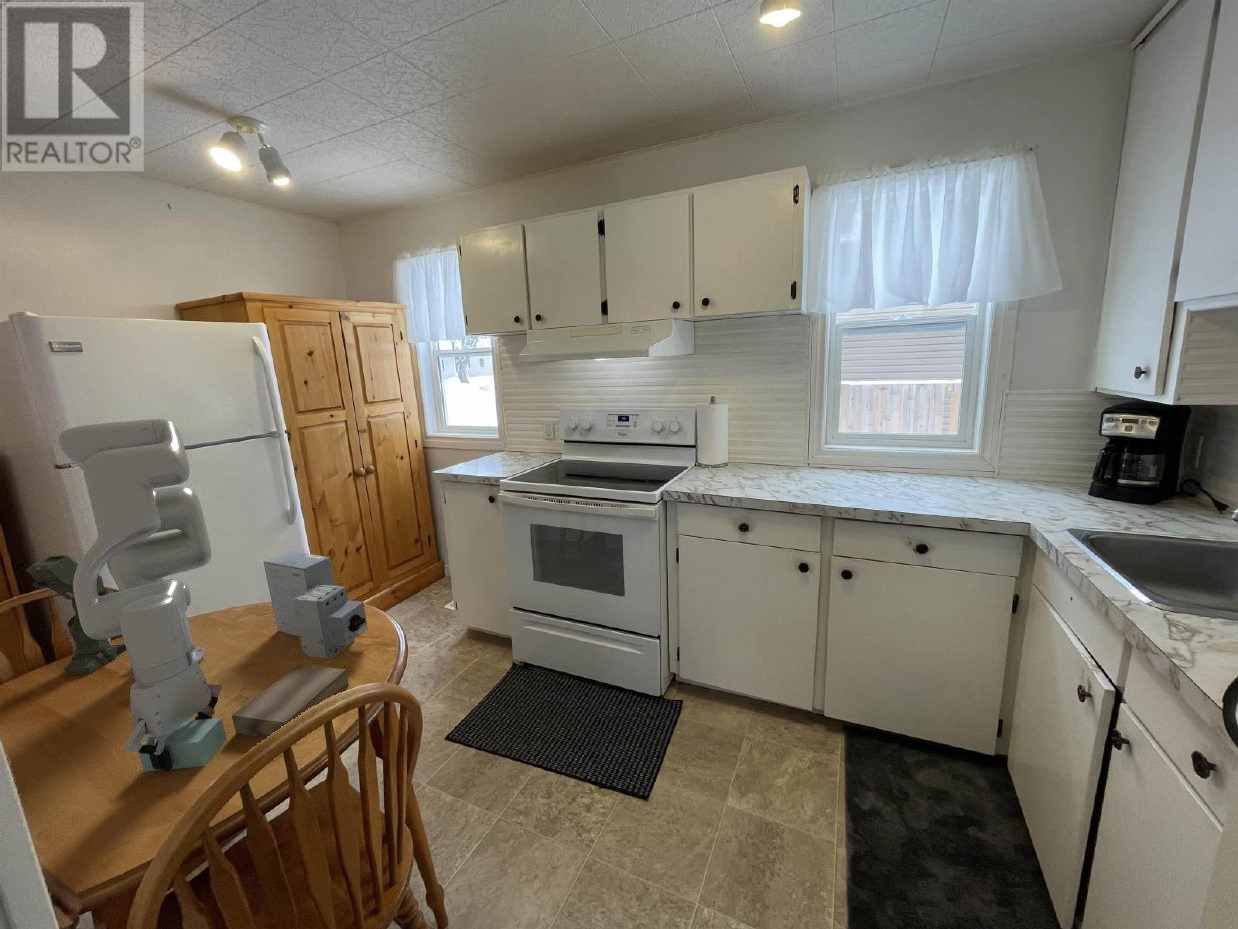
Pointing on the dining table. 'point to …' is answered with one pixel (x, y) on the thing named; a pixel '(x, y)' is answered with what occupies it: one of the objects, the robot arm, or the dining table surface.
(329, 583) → the grey switch module
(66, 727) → the dining table surface
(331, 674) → the stand
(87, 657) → the mechanical leg
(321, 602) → the circuit breaker
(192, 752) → the light teal rectangular block
